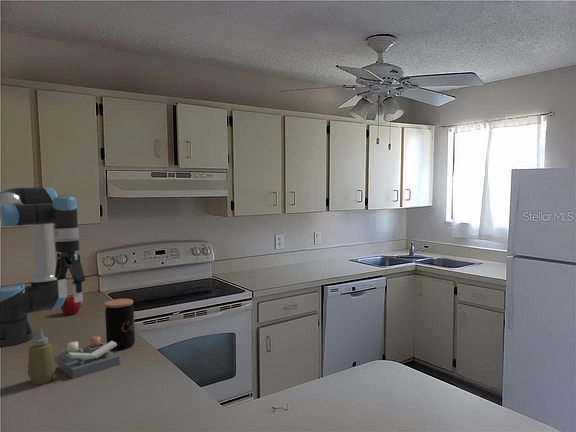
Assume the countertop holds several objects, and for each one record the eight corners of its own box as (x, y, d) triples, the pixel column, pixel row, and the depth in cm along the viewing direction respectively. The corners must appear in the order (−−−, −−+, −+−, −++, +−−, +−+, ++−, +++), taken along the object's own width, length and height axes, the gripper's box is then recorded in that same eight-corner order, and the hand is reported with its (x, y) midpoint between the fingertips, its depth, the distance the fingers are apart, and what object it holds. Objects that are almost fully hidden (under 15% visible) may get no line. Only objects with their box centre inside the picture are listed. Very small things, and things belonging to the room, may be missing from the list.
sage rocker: (66, 357, 150) (68, 352, 150) (89, 358, 156) (91, 353, 156) (70, 360, 147) (72, 355, 148) (93, 361, 153) (95, 355, 153)
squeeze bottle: (61, 377, 147) (59, 325, 146) (41, 388, 140) (38, 332, 139) (43, 374, 150) (40, 323, 149) (22, 385, 143) (19, 330, 141)
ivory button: (65, 352, 156) (65, 343, 156) (76, 350, 159) (75, 340, 159) (69, 355, 154) (69, 345, 154) (80, 352, 156) (79, 343, 156)
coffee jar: (125, 351, 171) (123, 305, 170) (101, 349, 173) (99, 304, 172) (140, 341, 181) (138, 299, 180) (116, 340, 183) (115, 298, 182)
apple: (61, 312, 227) (60, 293, 227) (81, 310, 231) (80, 291, 230) (61, 317, 219) (60, 297, 218) (81, 314, 223) (80, 295, 222)
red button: (88, 346, 162) (88, 337, 162) (98, 344, 165) (98, 335, 164) (92, 349, 160) (92, 339, 159) (102, 346, 162) (102, 337, 162)
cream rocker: (93, 357, 156) (91, 353, 156) (113, 344, 162) (111, 340, 161) (97, 360, 154) (95, 355, 153) (118, 347, 159) (116, 343, 159)
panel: (58, 367, 156) (57, 352, 156) (103, 354, 168) (102, 340, 167) (73, 378, 147) (72, 362, 146) (119, 364, 158) (118, 349, 158)
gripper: (42, 240, 161) (46, 297, 162) (70, 242, 145) (74, 306, 145) (64, 238, 167) (67, 293, 168) (93, 240, 150) (96, 301, 151)
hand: (70, 299), depth 156 cm, fingers open, 13 cm apart
